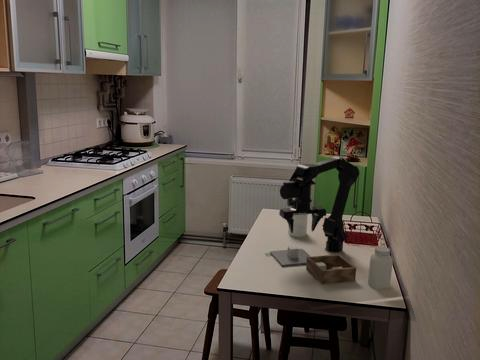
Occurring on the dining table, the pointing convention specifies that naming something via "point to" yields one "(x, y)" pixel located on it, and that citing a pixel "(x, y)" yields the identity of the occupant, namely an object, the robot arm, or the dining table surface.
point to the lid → (290, 256)
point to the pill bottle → (380, 268)
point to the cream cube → (321, 265)
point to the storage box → (330, 274)
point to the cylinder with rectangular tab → (299, 225)
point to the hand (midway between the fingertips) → (302, 232)
